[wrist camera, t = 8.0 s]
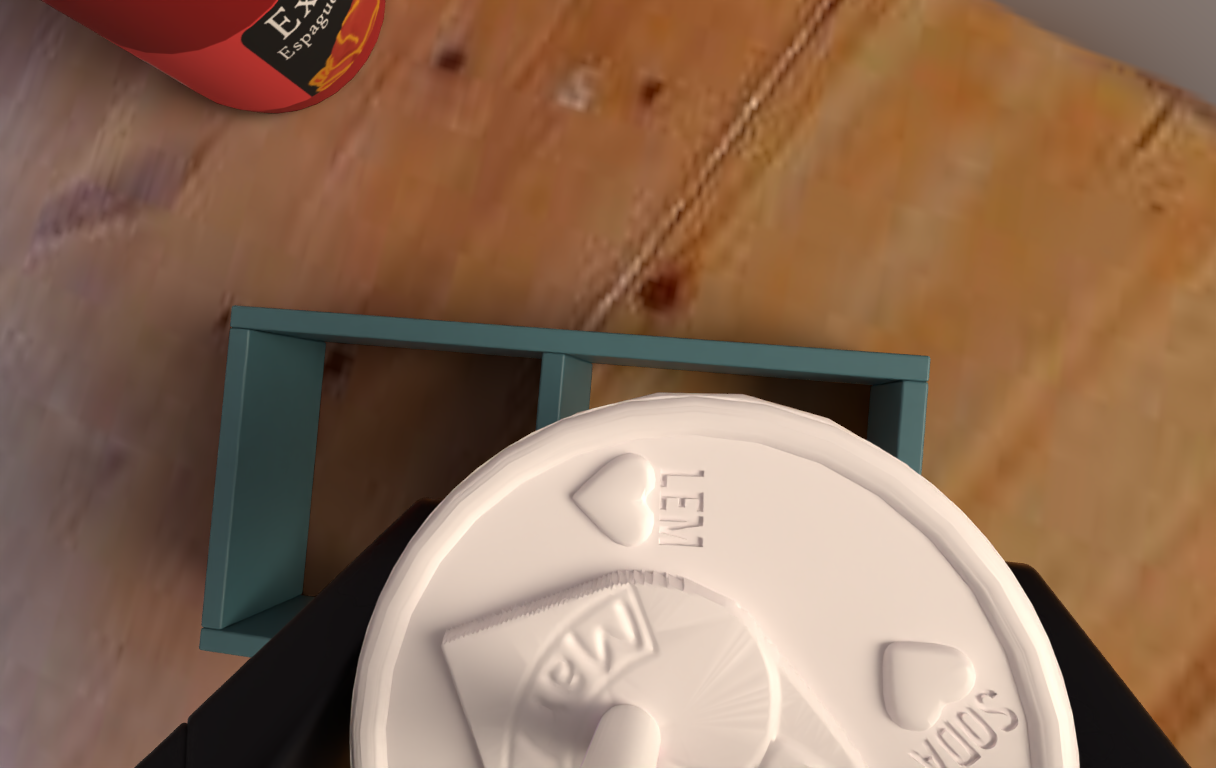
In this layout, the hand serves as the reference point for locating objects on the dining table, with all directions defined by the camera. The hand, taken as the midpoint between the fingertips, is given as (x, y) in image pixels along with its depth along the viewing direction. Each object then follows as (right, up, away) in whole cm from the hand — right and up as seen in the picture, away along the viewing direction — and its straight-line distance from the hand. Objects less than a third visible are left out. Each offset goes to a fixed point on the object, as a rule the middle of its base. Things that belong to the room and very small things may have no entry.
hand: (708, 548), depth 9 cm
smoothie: (+1, -2, +7) cm, 7 cm away
